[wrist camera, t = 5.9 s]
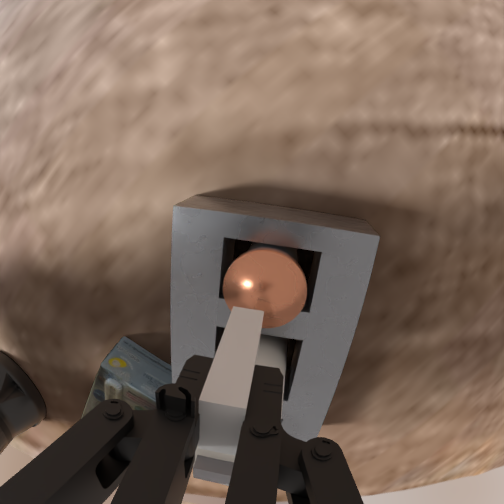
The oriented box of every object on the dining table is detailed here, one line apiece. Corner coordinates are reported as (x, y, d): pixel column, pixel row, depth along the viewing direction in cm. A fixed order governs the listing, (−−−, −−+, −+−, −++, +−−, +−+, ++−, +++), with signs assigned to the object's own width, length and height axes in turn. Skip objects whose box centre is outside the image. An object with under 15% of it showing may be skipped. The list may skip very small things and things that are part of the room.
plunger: (237, 280, 27) (219, 320, 21) (244, 220, 26) (226, 245, 19) (299, 290, 27) (298, 333, 20) (310, 230, 25) (314, 258, 19)
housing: (188, 406, 34) (175, 436, 29) (195, 195, 26) (173, 205, 22) (307, 426, 33) (307, 459, 28) (365, 219, 25) (379, 236, 20)
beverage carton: (187, 371, 33) (167, 412, 26) (137, 442, 39) (120, 475, 33) (124, 331, 32) (94, 366, 26) (91, 413, 39) (70, 443, 32)
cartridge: (232, 351, 31) (185, 489, 16) (236, 306, 29) (182, 446, 14) (283, 359, 30) (267, 504, 15) (293, 315, 28) (282, 465, 13)
